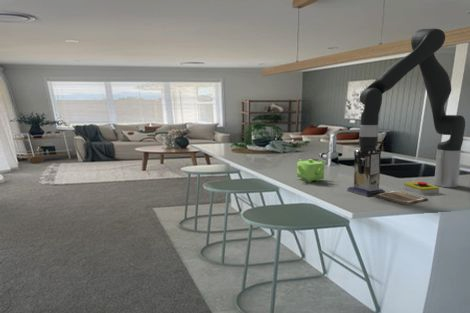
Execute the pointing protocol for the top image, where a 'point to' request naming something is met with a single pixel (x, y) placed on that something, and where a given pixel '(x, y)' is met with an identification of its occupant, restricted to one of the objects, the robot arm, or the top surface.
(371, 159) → the coffee box
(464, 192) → the top surface
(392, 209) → the top surface
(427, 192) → the emergency button
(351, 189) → the ink pad
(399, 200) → the marked board
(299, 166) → the green knobbed block
